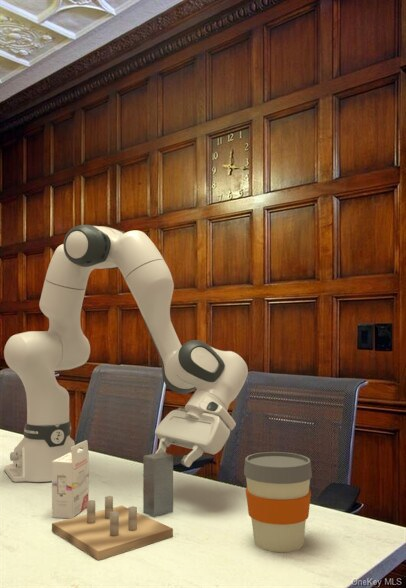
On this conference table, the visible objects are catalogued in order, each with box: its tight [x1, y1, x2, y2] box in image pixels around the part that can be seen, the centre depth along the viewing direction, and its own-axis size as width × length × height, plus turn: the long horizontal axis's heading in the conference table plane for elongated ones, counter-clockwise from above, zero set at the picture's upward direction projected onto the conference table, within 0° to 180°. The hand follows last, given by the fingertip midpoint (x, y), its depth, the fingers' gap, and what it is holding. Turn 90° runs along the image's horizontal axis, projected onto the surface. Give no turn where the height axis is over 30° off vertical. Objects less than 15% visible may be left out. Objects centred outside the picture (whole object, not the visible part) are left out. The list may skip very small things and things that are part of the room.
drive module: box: [142, 452, 174, 518], centre depth 116 cm, size 4×5×12 cm
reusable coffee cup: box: [243, 451, 313, 553], centre depth 99 cm, size 12×13×15 cm
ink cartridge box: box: [51, 439, 90, 519], centre depth 117 cm, size 9×5×15 cm, turn 168°
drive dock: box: [51, 495, 174, 561], centre depth 104 cm, size 18×16×6 cm
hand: (171, 461), depth 119 cm, fingers open, 8 cm apart
